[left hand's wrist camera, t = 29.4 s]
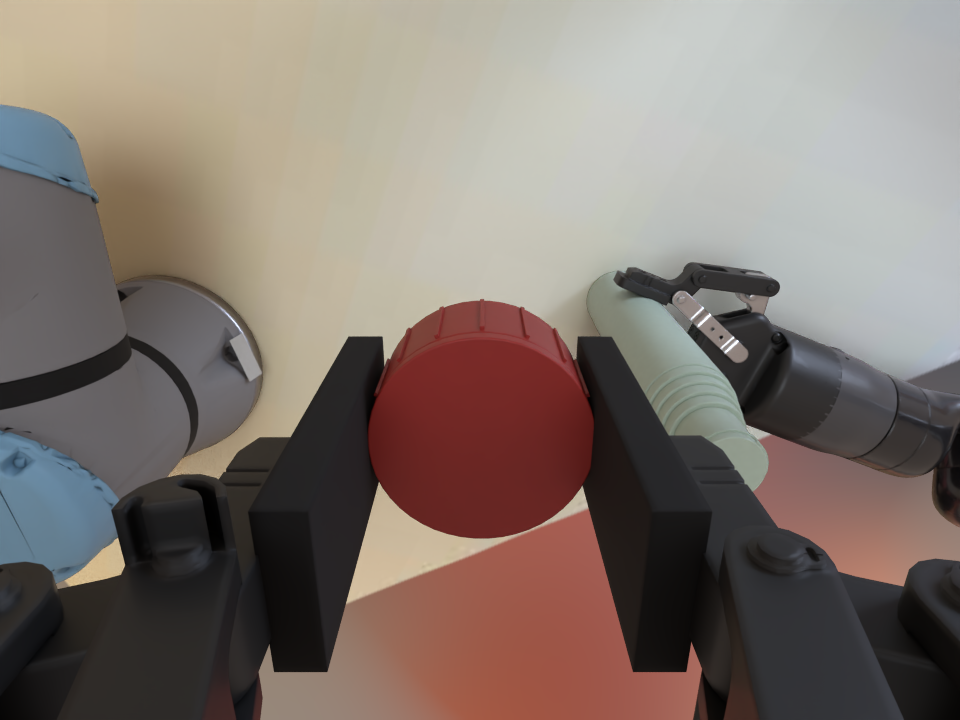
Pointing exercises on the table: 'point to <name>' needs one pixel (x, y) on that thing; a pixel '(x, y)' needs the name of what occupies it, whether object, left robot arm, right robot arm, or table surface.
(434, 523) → the cap
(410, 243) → the table surface
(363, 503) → the left robot arm
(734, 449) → the bottle
